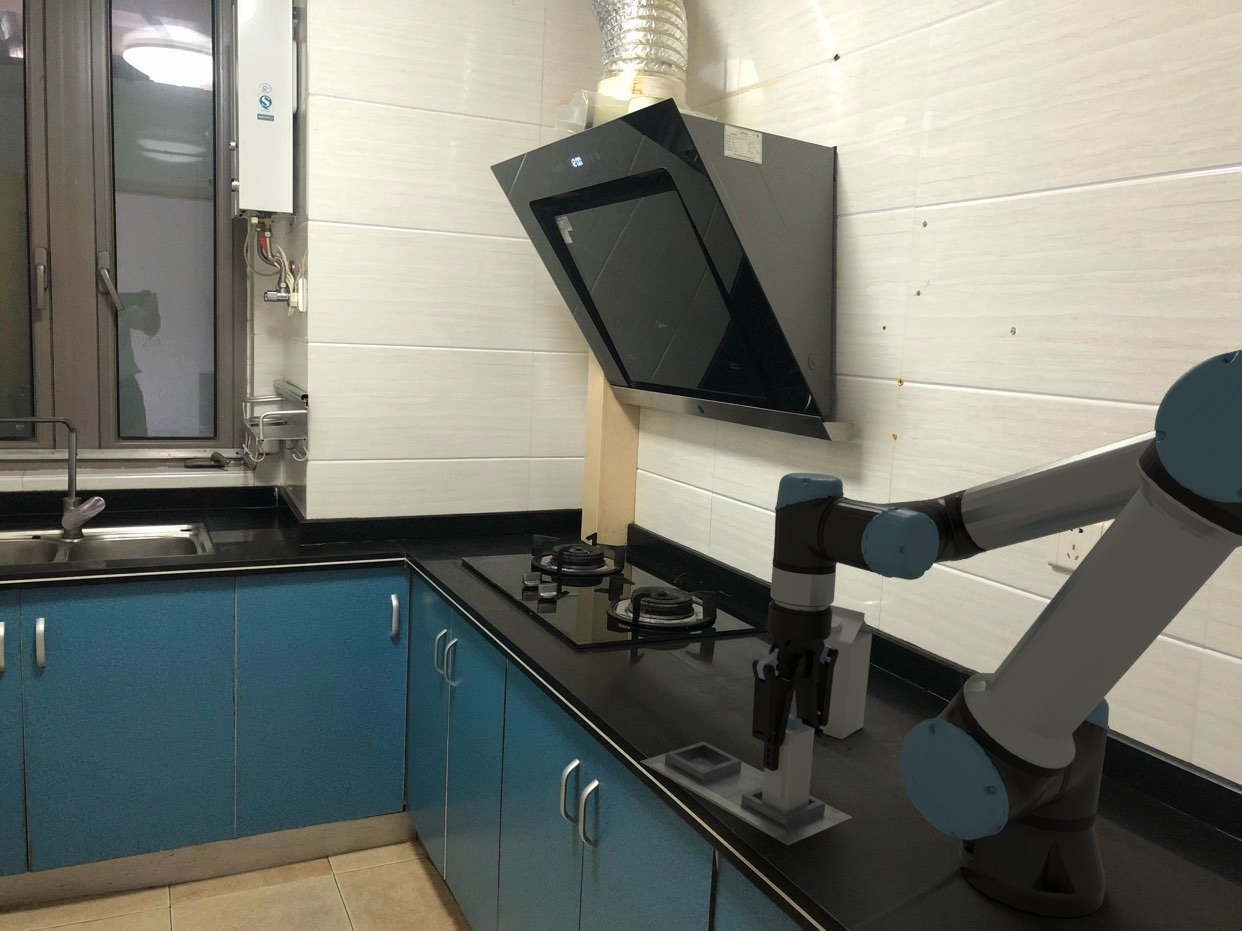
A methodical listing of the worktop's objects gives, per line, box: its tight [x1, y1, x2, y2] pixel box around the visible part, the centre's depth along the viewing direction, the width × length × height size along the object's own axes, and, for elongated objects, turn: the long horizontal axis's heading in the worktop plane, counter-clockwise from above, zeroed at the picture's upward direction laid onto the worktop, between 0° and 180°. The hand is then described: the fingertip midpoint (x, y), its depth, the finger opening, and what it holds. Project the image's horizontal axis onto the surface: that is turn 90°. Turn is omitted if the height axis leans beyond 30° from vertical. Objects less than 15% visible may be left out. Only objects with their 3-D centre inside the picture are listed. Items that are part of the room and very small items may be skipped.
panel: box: [639, 741, 853, 846], centre depth 124 cm, size 26×12×2 cm, turn 40°
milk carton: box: [818, 604, 873, 740], centre depth 148 cm, size 7×7×19 cm
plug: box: [762, 713, 815, 814], centre depth 118 cm, size 4×4×11 cm
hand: (786, 788), depth 118 cm, fingers closed on plug, 4 cm apart
